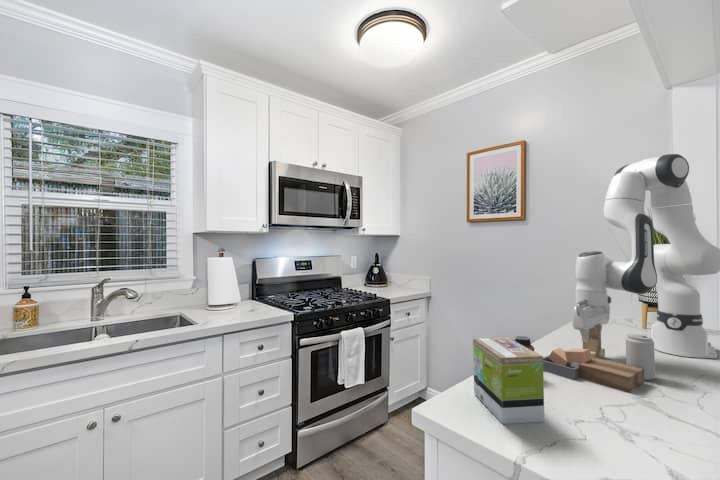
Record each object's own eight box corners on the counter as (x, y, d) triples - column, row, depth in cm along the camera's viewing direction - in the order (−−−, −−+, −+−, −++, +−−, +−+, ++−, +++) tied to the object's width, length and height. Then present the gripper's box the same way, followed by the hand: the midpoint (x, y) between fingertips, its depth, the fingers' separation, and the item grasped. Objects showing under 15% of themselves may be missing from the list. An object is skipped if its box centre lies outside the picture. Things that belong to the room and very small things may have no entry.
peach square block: (575, 358, 105) (570, 365, 106) (559, 347, 108) (555, 354, 110) (567, 361, 102) (562, 369, 103) (552, 350, 106) (547, 357, 107)
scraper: (591, 354, 118) (591, 320, 119) (604, 357, 115) (604, 322, 115) (579, 359, 113) (578, 324, 113) (592, 363, 109) (592, 326, 110)
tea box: (472, 394, 87) (471, 337, 87) (509, 393, 87) (508, 336, 88) (501, 425, 72) (501, 356, 72) (546, 423, 72) (545, 354, 73)
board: (594, 370, 103) (594, 357, 103) (643, 383, 93) (643, 368, 93) (578, 378, 97) (578, 364, 97) (629, 392, 87) (629, 377, 87)
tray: (562, 359, 113) (562, 350, 113) (598, 368, 105) (597, 358, 105) (537, 369, 104) (537, 359, 104) (574, 380, 96) (574, 369, 96)
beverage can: (660, 382, 94) (659, 339, 94) (634, 380, 95) (633, 338, 95) (646, 374, 100) (645, 333, 100) (621, 372, 101) (621, 332, 102)
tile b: (574, 358, 105) (572, 348, 105) (592, 359, 101) (589, 349, 101) (567, 361, 102) (564, 351, 102) (585, 362, 98) (582, 352, 98)
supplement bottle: (534, 374, 100) (534, 336, 100) (535, 381, 95) (535, 341, 95) (512, 371, 103) (512, 334, 103) (512, 378, 97) (512, 339, 97)
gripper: (588, 303, 106) (588, 347, 106) (613, 297, 117) (614, 337, 117) (566, 300, 111) (567, 342, 111) (592, 295, 123) (593, 333, 122)
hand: (591, 339), depth 114 cm, fingers open, 7 cm apart
